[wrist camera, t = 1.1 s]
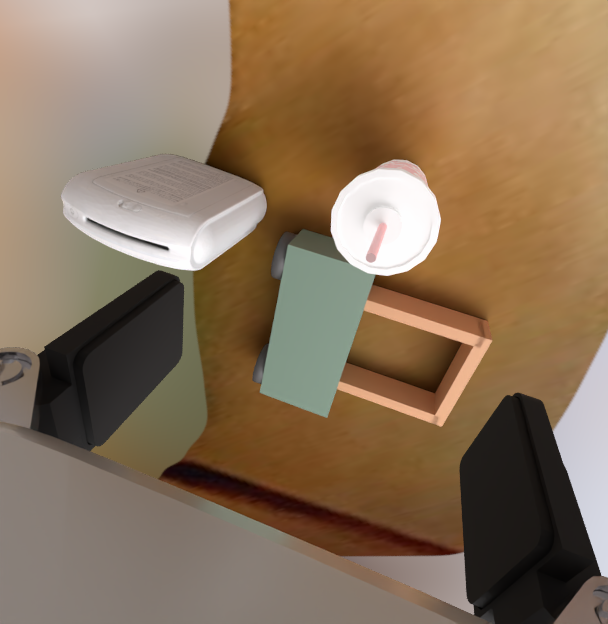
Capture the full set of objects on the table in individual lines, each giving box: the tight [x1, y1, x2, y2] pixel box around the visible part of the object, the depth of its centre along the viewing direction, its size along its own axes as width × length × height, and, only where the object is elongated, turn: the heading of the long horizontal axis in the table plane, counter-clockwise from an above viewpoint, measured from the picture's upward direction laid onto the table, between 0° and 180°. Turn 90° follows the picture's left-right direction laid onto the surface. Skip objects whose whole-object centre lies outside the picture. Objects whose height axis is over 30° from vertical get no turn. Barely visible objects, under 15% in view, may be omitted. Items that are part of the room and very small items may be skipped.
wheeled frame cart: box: [253, 229, 492, 427], centre depth 34 cm, size 16×18×4 cm
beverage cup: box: [331, 160, 441, 276], centre depth 23 cm, size 6×6×14 cm
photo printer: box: [61, 154, 267, 270], centre depth 28 cm, size 10×4×12 cm, turn 75°
